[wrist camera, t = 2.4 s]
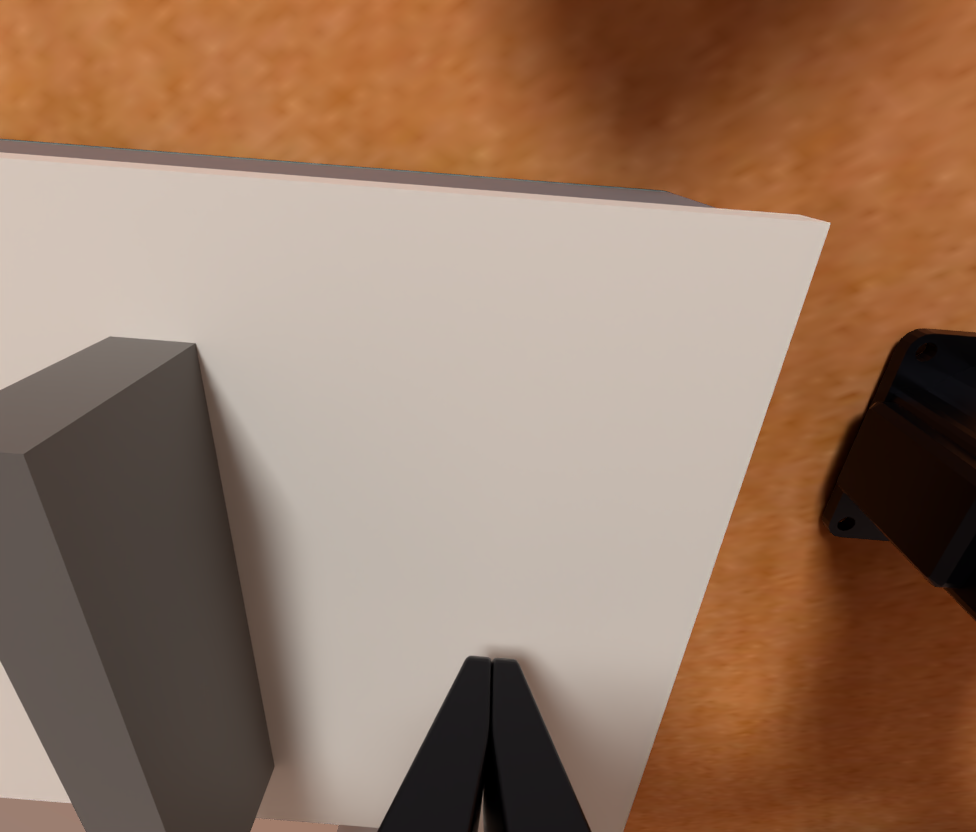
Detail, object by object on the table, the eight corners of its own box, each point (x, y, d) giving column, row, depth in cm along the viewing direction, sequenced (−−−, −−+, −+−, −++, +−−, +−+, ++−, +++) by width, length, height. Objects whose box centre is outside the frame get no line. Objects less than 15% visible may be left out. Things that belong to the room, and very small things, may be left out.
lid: (799, 214, 7) (1051, 280, 4) (612, 810, 14) (645, 1028, 10) (-711, 97, 7) (-1770, 60, 4) (-182, 746, 14) (-406, 942, 10)
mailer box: (664, 190, 13) (772, 226, 8) (578, 614, 19) (604, 797, 14) (-173, 125, 13) (-656, 115, 8) (19, 570, 19) (-170, 734, 14)
